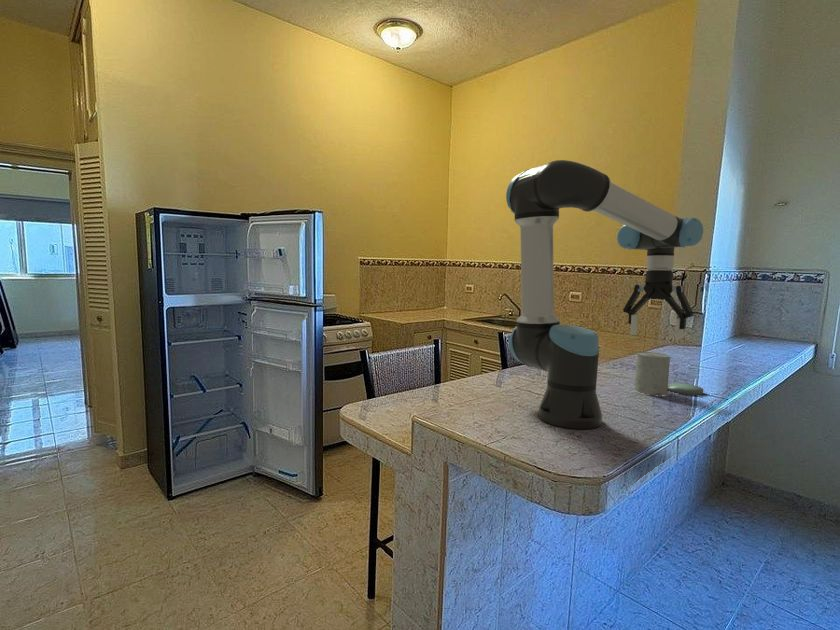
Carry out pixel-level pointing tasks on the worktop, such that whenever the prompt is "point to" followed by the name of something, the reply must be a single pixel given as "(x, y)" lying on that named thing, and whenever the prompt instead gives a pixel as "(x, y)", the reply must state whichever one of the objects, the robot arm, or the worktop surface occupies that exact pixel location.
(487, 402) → the worktop surface
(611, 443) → the worktop surface
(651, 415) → the worktop surface
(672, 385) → the pad
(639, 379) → the grey marble cylinder
